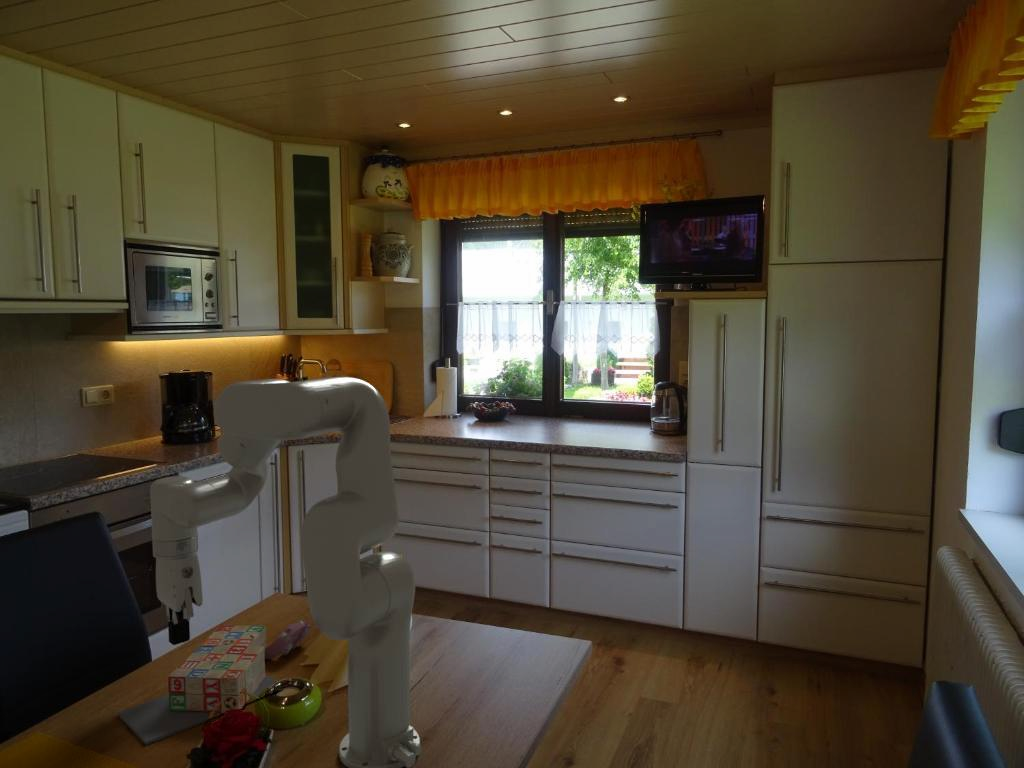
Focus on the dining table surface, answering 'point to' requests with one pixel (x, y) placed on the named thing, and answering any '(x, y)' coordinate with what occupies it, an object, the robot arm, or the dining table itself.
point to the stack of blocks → (220, 671)
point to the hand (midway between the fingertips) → (179, 641)
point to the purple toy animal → (288, 640)
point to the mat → (168, 717)
